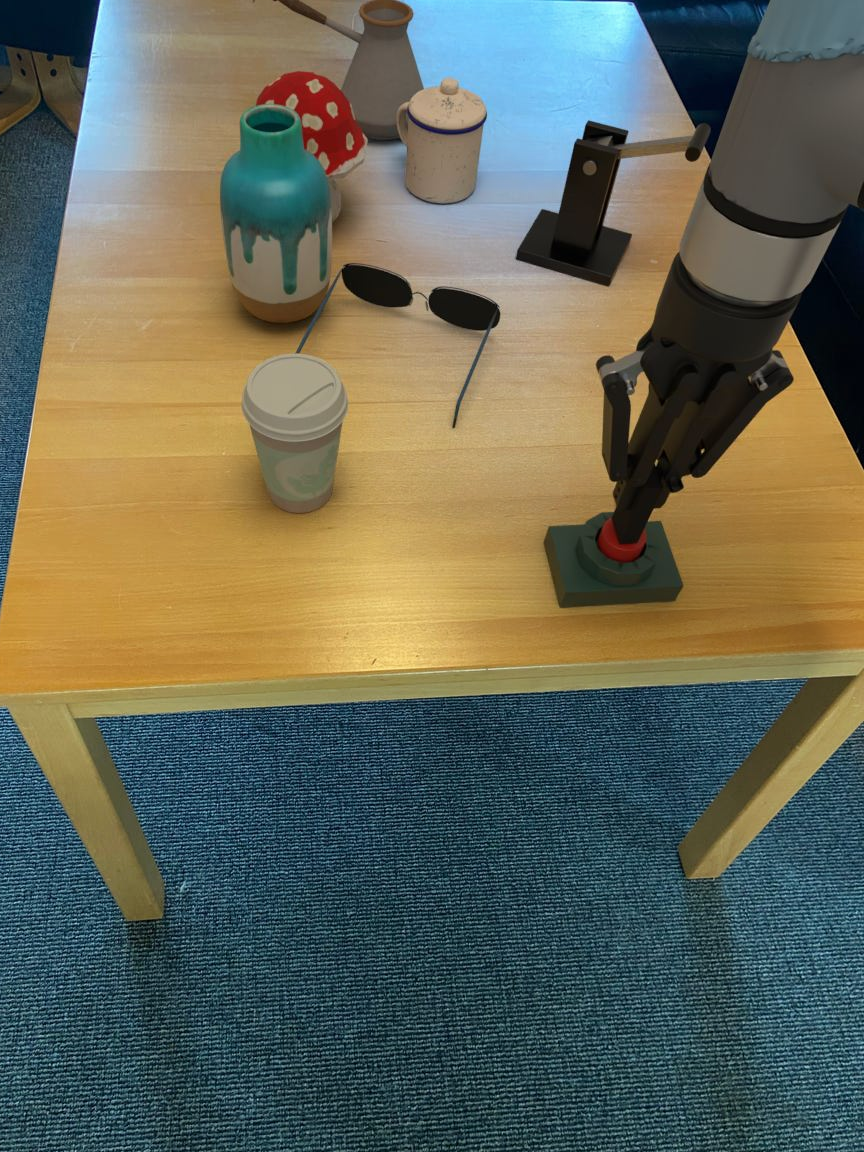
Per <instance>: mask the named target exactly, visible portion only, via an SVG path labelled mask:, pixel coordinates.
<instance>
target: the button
mask: <svg viewBox="0 0 864 1152" xmlns="http://www.w3.org/2000/svg"><path fill="white" fill-rule="evenodd" d="M646 539H647V534H646V531H645V529H644V530H643V532H642V534H641V537H640V539H639V541H638V543H628V544H619V541H618V537H617V534H616V531H615V528H614V524H613V521H612V518H611V519H609V520H607V521H606V522H605V524H604V525H603V528H602V530H601V533H600V535H599V538H598V542H597V545H598V549H599V550H600V551H601V552H602V553H603V554H604V555H605V556H606V557H607V558H610V559H612V560H615V561H618V562H620V563H621V562H632V561H634V560H635V559H637V558H638V556H639V555H640V553H641V551H642V549H643V546H644V544H645V542H646Z"/></svg>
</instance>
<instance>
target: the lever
mask: <svg viewBox="0 0 864 1152" xmlns="http://www.w3.org/2000/svg"><path fill="white" fill-rule="evenodd" d="M711 130H712V129H711V126H710V125H709V124H708V123H706V122H705V123H704V122H703V123H700V124H698V125H697V126H696V127H695V130H694V133H693V134H692V135H685V136H677V137H669V138H660V139H652V140H644V141H643V140H642V141H636V142H635V141H634V142H628V143H627V142H626V143H625V144H619V145H613V136H607V137H599V138H591V139H586V141H590V142H594V143H597V144H601V145H605V146H609V147H613V148H616V149H619V151H618V154H617V158H616V159H621V160H623V159H630V158H632V159H633V158H641V157H648V156H656V155H657V156H658V155H666V154H675V153H681V152H682V153H683V152H685V153H684V158H685V159H686V160H687V162H690V163H694V162H696V161H698V160H699V159H700V157H701V154H702V153H703V150H704V148H705V145H706V144H707V141H708V139H709V137H710V135H711V132H712V131H711Z"/></svg>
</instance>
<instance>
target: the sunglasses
mask: <svg viewBox="0 0 864 1152" xmlns="http://www.w3.org/2000/svg"><path fill="white" fill-rule="evenodd" d="M340 276H341V279H342V282H343V285H344V287H345V288H346V289H347V290H348V291H349V292H350V293H351V294H352V295H354V296H355V297H357V298H358V299H360V300H362V301H364V302H365V303H368V304H371V305H375V306H379V307H382V308H383V307H384V308H393V309H394V308H395V309H396V308H405V307H408V306H409V307H411V305H412V304H413V302H414V299H415V298H414V297H413V295H416V294H418V295H420V296H422V297H423V298H424V299H425V301H424V302H425V303H424V305H425V309H426V311H427V312H428V311H429V310H430V311H431V313H432V314H433V315H434V316H436V317H437V318H439V319H440V320H443V321H444V322H445V323H448V324H450V325H453V326H454V327H458V328H460V329H461V328H462V329H465V330H469V331H476V332H482V331H485V334H484V336H483V338H482V341H481V344H480V345H479V348H478V350H477V353H476V355H475V357H474V360H473V362H472V365H471V367H470V369H469V372H468V374H467V377H466V379H465V381H464V383H463V386H462V388H461V391H460V393H459V396H458V398H457V400H456V404H455V409H454V416H453V422H452V429H454V428H456V425H457V421H458V417H459V413H460V412H459V411H460V407H461V403H462V401H463V398H464V397H465V394H466V392H467V391H466V390H467V389H468V386H469V383H470V382H471V379H472V378H473V377H472V376H473V374H474V371H475V369H476V367H477V364H478V362H479V360H480V357H481V355H482V352H483V350H484V347H485V345H486V343H487V340H488V338H489V335H490V332H491V330H493V329H495V328H497V326H498V325H499V323H500V320H501V310H500V309H501V307H500V305H499V304H498V303H497V302H496V301H495V300H493V299H492V298H490V297H488V296H485V295H483V294H480V293H477V292H476V291H475V292H474V291H471V290H468V289H467V290H466V289H465V288H460V287H453V286H445V285H443V286H437V287H435V288H433V289H432V290H430V294H429V295H428V297H427V296H426V295H425V294H424V293H422V292H420V291H415V292H413V290H412V288H411V287H412V285H411V283H410V282H409V281H408V279H406V278H405V277H404V276H403V275H400V274H399V273H396V272H394V271H392V270H389V269H387V268H384V267H380V266H376V265H371V264H367V263H359V262H348V263H344V264H343V265H342V267H341V269H340V270H339V272H338V273H337V275H336V276H335V278H334V280H333V282H332V284H331V285H330V287H329V288H328V291H327V294H326V296H325V298H324V300H323V302H322V304H321V305H320V306H319V307H318V309H317V310H316V311H317V312H316V313H315V315H314V317H313V319H312V320H311V322H310V324H309V325H308V328H307V330H306V332H305V334H304V336H302V339H301V341H300V343H299V345H298V347H297V348H296V351H295V353H297V354H301V351H302V349H303V348H304V345H305V343H306V342H307V340H308V338H309V336H310V334H311V332H312V330H313V329H314V327H315V325H316V323H317V321H318V319H319V317H320V315H321V314H322V311H323V310H324V307H325V305H326V304H327V302H328V300H329V298H330V296H331V294H332V292H333V291H334V288H335V286H336V285H337V282H338V280H339V278H340Z"/></svg>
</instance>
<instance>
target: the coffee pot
mask: <svg viewBox="0 0 864 1152" xmlns="http://www.w3.org/2000/svg"><path fill="white" fill-rule="evenodd" d="M255 1H256V0H252V3H253V4H255ZM272 1H273V2H278V1H279V3H281V4H282V5H284V6H285V7H286V8H288V9H289V10H290V11H292V12H294V13H296V14H298V15H300V16H302V17H305V18H306V19H307V18H308V19H309V20H312V21H314V22H316V23H317V24H321V25H323V26H327V27H328V28H330V29H332V30H334V31H335V32H338V33H339V34H341V35H342V36H345V37H347V38H348V39H350V40H351V41H354V42H356V43H357V44H358V45H357V47H356V49H355V52H354V54H353V57H352V60H351V62H350V65H349V67H348V70H347V73H346V74H345V77H344V80H343V83H342V85H341V88H340V90H341V91H342V93H343V94H344V95H345V96H346V98H347V99H348V101H349V102H350V103H351V105H352V108H353V111H354V115H355V119H356V122H357V125H358V126H359V128H360V129H361V131H362V132H363V134H364V135H365V136H366V138H367V139H372V140H378V141H392V140H397V139H401V138H400V135H399V132H398V129H397V121H396V117H397V111H398V109H399V107H400V106H401V105H402V104H404V103H406V102H410V100H411V98H412V97H413V96H414V95H415V94H416V93H417V92H419V91H421V90H423V89H425V87H424V84H423V81H422V78H421V74H420V70H419V68H418V65H417V64H418V63H417V61H416V57H415V54H414V51H413V48H412V43H411V41H410V38H409V35H408V28H409V23H410V22H411V21H412V20H413V18H414V11H413V8H412V7H411V6H410V5H408V3H405V2H403V1H401V0H368V1H366V2H364V3H362V4H361V5H360V7H359V9H358V15H359V17H360V18H361V20H362V22H363V23H362V24H363V32H362V33H360V32H358V31H355V30H354V29H351V28H350V27H347V26H345V25H343V24H342V23H340V22H337V21H335V20H333V19H331V18H329V17H328V16H327V15H325V14H323V13H321V12H320V11H318V10H317V9H315V8H313V7H312V6H310V5H308V4H307V3H304V2H303V1H301V0H272ZM408 122H409V116H408V114H407V111H406V126H407V129H408Z"/></svg>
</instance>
